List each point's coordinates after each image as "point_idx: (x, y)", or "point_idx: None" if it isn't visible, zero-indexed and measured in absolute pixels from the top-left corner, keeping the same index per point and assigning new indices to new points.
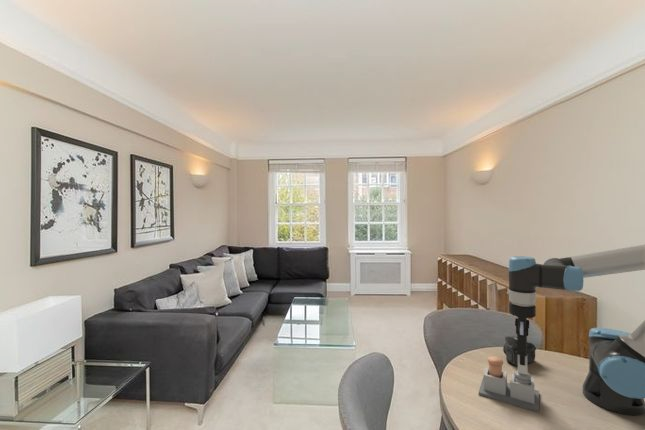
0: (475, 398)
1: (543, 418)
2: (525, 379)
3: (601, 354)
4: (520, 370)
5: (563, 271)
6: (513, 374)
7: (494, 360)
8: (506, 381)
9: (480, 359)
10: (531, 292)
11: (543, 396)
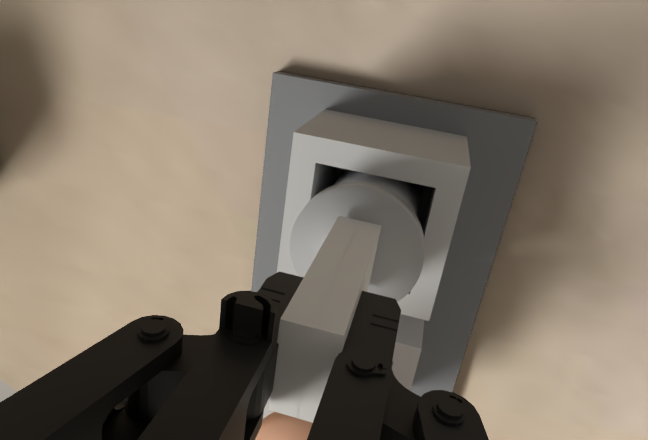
0: (491, 428)
1: (606, 103)
2: (422, 237)
3: None
4: (366, 288)
5: None
6: (296, 275)
7: None
8: None
9: (30, 330)
10: None
11: (308, 46)
